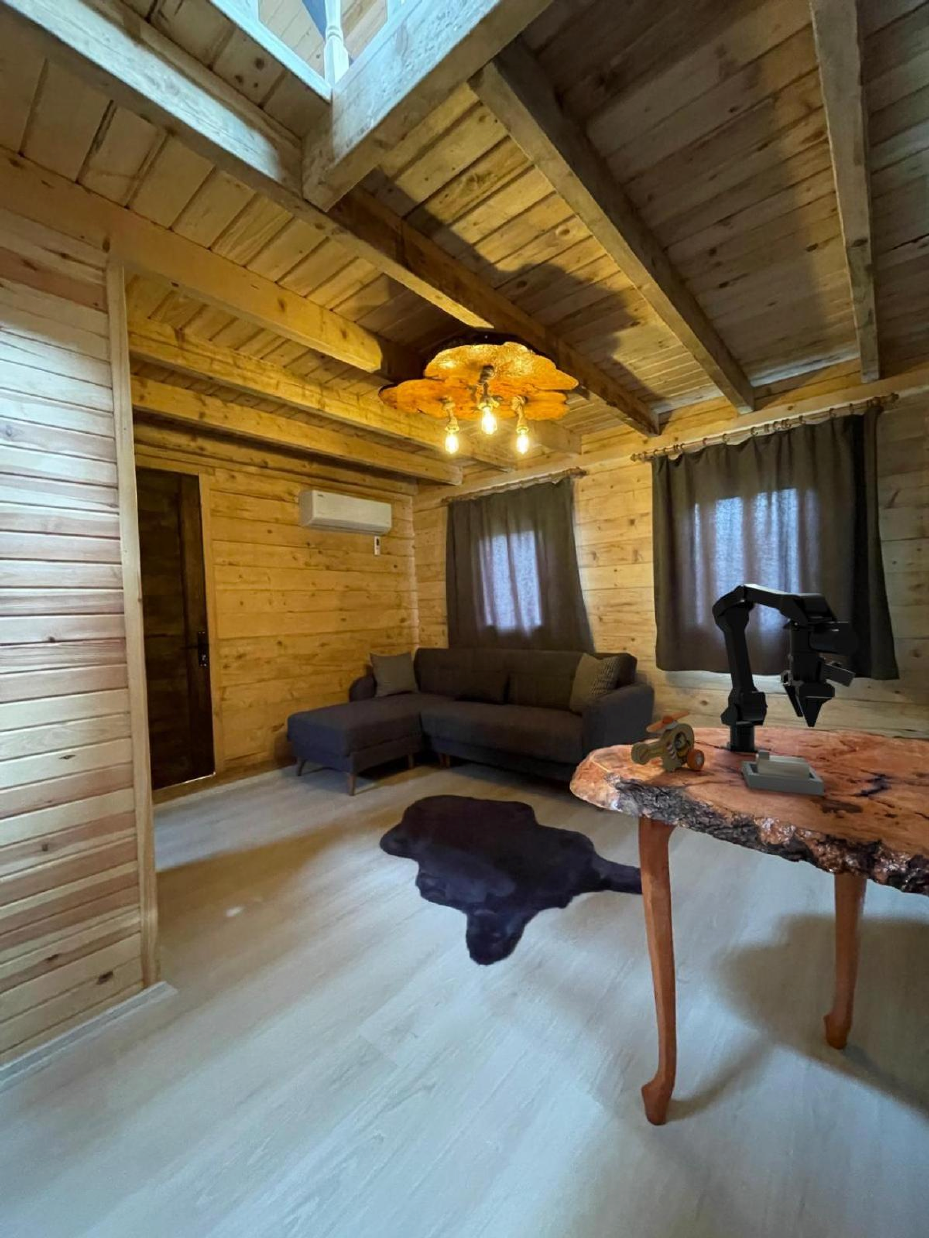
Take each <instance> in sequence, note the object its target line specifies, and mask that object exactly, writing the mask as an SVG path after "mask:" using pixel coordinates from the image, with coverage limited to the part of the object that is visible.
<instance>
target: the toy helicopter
mask: <svg viewBox="0 0 929 1238" xmlns="http://www.w3.org/2000/svg"><path fill="white" fill-rule="evenodd" d="M690 714H691V712H690V710H688V709H682V710H679V711H676V712H674V713H672V714H665V715H663V717H662V719H660V720H658V721H656V722H654V723H653V724H651V725H648V726H647V727H646V731H647V733H656V732H658V731H659V730H661V729H664V730H663V732H662V734H661V736H660V738H659V739H658V740H655V741H652V742H649V743H645V742H640V741H639V742H635V743H634V744H633V745H632V747H631V750H630V758H631V760H632V761H633V763H635V764H637V765H641V766H646V765H647V764H648V763H649V762H650V761H651V760H652V759H655V758H656V759H657V758H660V759H661V761H662V768H663V770H664V771H666V770H668V771H667V772H670V771H673V770H674V771H675V770H676V769H677V768H678V767H679V768H680V767H683V766H685V765H687V767H688V768H689V769H690V770H694V771H696V770H699V771H701V770H702V768H703V767H704V765H705V761H706V757H705V753H704V751H703V750H702V749H698V748H695V742H696V739H695V738H696V737H695V732H694V729H693V727H692V726H691V725H690V724H688V723H685V722H678V720H680V719H681V718H684V717H687V716H688V715H689V716H690ZM674 771H673V772H674Z"/></svg>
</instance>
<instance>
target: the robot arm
mask: <svg viewBox="0 0 929 1238" xmlns="http://www.w3.org/2000/svg"><path fill="white" fill-rule="evenodd" d="M756 604H758V605H760V606H761V605H762V606H765V607H767V608H768V607H769V608H772V609H775V610H777V611H779V614H780V615H781V616H783V617H785V618H786V619H788V620H789V621H788V622H786V623H785V624H784V625H783V626H782V629H783V630H786V631H787V630H788V631H789V635H790V636H789V650H790V651H789V654H787V660H789V669H788V670H786V669H785V670H784V671H782V672H781V673H780V683H782V684H781V686H782V687H783V689H784V691H785V694H786V696H787V698H788V700H789V702H790V704H791V706H792V709H793V711H794V713H795V715H796V717H797V718H804V720H805V723H806V725H807V727H808V728H815V727H816V723H817V720H818V717H819V714H820V712H821V710H822V706H823V705H824V704H826V703H828V702H829V701H831V700H833V698H835V697H836V688H835V687H834V686H833V685H832V684H831V683H829V682H828V681H827V680H829V681H831V682H835V683H837V684H841V685H842V686H844V687H847V688H850V687H851V685H852V682H853V680H854V678H855V676H856V673H855V672H853V671H850V670H847V669H845V668H843V663H840V662H837V661H834V660H831V661H830V662H829V663H827V659H826V658H825V657H824V656H822V655H823V654H826V655H832V656H841V657H850V656H852V655H854V654H855V653H856V652H857V650H858V649H859V647H860V638H859V636H858V633H857V632H856V631H855V630H854V629H853V628H851V623H850V622H849V621H840V620H839V619H838V617H837V615H836V614H835V612H834V611H833V609H832V608H831V607H830V605H829V603H828V602H827V600H826V596H825V595H823V594H821V593H790V592H786V591H782V590H778V589H774V588H769V587H766V586H761V585H759V584H757V583H746V584H745V583H741V584H739V585H737V586H736V587H735V588H734V589H733V590H731V591H729V592H728V593H726V594H724V595H722V596H721V597H720V598H718V599H717V600H716V601H715V603H714V604H713V606H712V608H711V613H712V615H713V619H714V623H715V625H716V627H718V628H719V630H720V631H721V632H722V634H723V637H724V643H725V649H726V654H727V662H728V667H729V668H728V669H729V673H730V674H729V675H730V680H731V685H732V688H731V690H730V692H729V694H728V697H727V707H726V708H725V709H724V710H723V712H722V713H721V714H720V719H721V720H720V721H721V724H722V725H725V726H728V727H729V741H726V744H727V746H728V750H730V751H739V752H751V753H753V752H754V753H758V750H759V749H758V747H757V746H756V743H755V742H756V741H755V740H756V739H755V737H756V736H755V735H756V734H755V733H756V732H755V731H756V727H757V726H759V727H762V726H764V724H765V719H766V716H767V715H768V709H769V706H768V703H767V701H766V700H767V699H766V697H767V696H766V693H765V692H764V691H760V690H759V689H758V687H756V686H755V683H754V677H753V671H752V666H751V659H750V655H749V654H750V653H749V649H748V642H747V637H746V629H747V626H748V624H749V622H750V614H751V612H752V611H753V610H754V609H755V608H756V606H757V605H756Z"/></svg>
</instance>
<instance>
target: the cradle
mask: <svg viewBox="0 0 929 1238" xmlns="http://www.w3.org/2000/svg"><path fill="white" fill-rule="evenodd" d="M742 775H743V777H744V780H745V782H746V785H747V787H748V788H749V789H753V790H754V789H755V790H763V791H764V790H765V791H773V792H774V791H775V792H782V793H794V794H804V795H813V796H824V781H823V779H822V778H821V777H820V776H819V775H818V773H816V771H815V769H814V768H812V766H809V778H802V777H791V776H781V775H770V774H759V773H756V761H750V760H749V761H747V760H742Z"/></svg>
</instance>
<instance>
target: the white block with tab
mask: <svg viewBox="0 0 929 1238" xmlns="http://www.w3.org/2000/svg"><path fill="white" fill-rule="evenodd" d="M770 753H771V752H770V751H769V750H759V749H758V752H757V753H756V754H755V762H756V773H759V774H770V775H781V776H791V777H802V778H809V767H810V763H809V762H808V761H807V760H806V759H805V757H793V756H781V755H770Z"/></svg>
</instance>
